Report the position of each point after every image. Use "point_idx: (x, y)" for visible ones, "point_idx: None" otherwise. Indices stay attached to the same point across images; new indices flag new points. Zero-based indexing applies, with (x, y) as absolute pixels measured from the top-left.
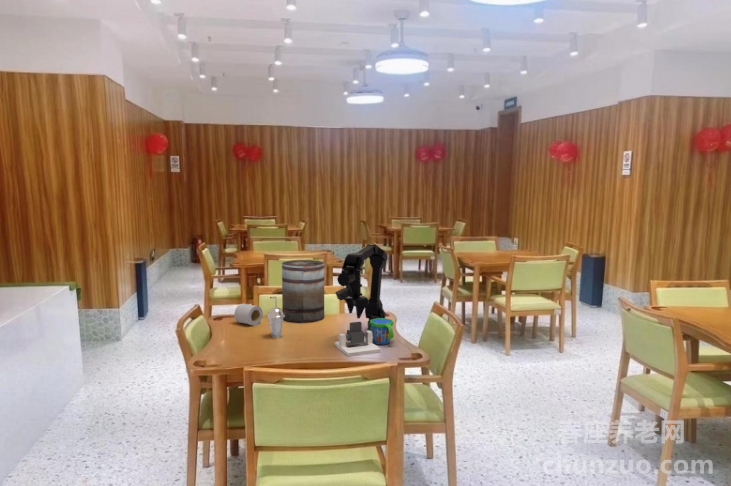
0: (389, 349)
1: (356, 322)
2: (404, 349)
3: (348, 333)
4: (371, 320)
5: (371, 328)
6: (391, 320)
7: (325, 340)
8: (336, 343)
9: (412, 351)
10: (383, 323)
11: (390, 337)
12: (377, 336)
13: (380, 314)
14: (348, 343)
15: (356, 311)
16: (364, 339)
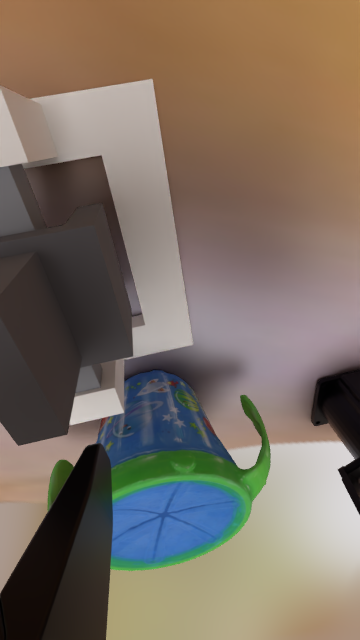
0: None
1: (14, 395)
2: (32, 467)
3: (39, 230)
4: (206, 481)
5: (179, 425)
6: (168, 561)
7: (312, 13)
8: (101, 87)
9: (2, 487)
10: (124, 528)
11: (59, 474)
12: (108, 419)
13: (357, 505)
14: (117, 215)
15: (32, 595)
16: (169, 335)
